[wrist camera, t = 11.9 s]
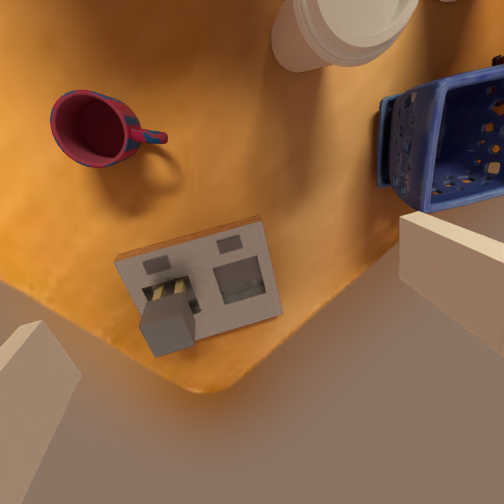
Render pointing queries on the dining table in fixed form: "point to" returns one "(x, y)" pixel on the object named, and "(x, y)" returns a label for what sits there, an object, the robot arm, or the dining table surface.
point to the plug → (168, 321)
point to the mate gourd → (496, 61)
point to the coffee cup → (336, 31)
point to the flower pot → (443, 141)
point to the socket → (209, 275)
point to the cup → (98, 129)
